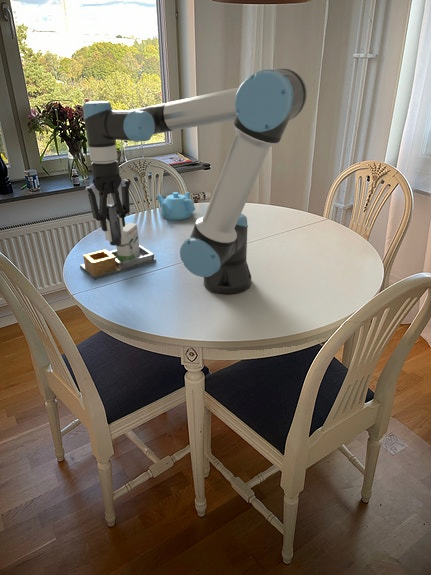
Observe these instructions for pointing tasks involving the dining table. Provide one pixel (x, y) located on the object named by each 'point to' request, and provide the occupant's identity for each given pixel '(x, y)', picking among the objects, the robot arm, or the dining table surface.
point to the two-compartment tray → (113, 262)
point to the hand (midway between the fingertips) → (115, 238)
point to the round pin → (113, 224)
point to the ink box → (129, 243)
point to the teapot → (176, 206)
